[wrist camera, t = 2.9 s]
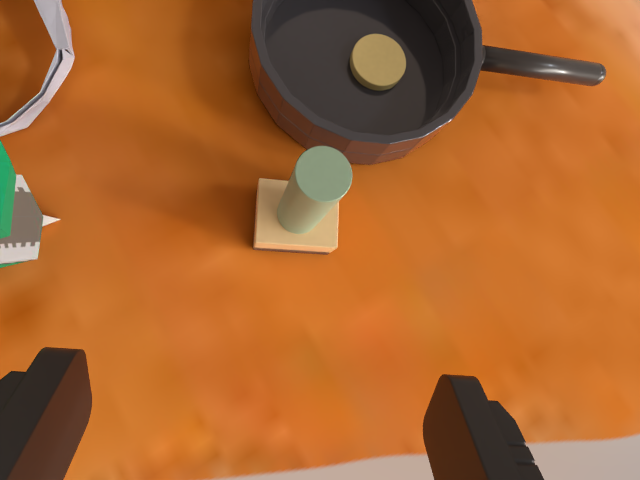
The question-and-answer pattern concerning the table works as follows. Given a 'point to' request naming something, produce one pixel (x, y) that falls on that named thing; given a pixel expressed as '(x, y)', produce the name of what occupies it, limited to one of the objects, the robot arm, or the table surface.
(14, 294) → the table surface
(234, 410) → the table surface
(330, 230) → the green peg on base
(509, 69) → the pan handle
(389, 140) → the pan
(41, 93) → the headphones
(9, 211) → the toy
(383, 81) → the disc
